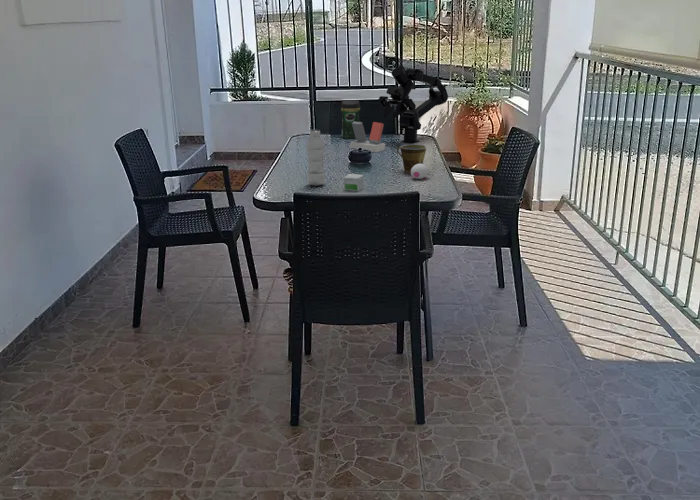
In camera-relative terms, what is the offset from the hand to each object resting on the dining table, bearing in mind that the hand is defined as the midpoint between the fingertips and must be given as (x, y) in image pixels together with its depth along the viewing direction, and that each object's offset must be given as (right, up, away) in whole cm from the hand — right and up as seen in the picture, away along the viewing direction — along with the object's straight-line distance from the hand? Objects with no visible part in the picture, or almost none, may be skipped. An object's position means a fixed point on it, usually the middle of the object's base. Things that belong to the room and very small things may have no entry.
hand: (388, 117), depth 298 cm
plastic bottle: (-30, -37, -61) cm, 78 cm away
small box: (-16, -39, -66) cm, 79 cm away
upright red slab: (-7, -11, -4) cm, 14 cm away
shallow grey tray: (-10, -14, 0) cm, 17 cm away
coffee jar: (-17, -4, +29) cm, 34 cm away
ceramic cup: (+6, -30, -42) cm, 52 cm away
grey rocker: (-13, -10, +1) cm, 16 cm away
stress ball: (+8, -34, -53) cm, 64 cm away
